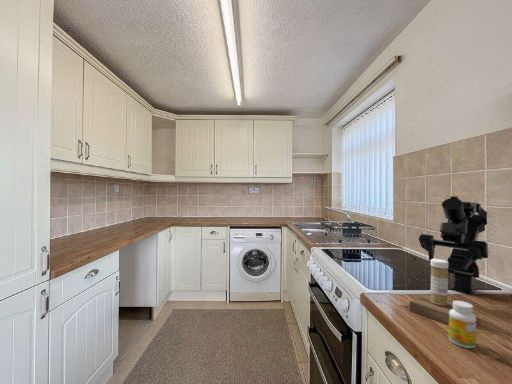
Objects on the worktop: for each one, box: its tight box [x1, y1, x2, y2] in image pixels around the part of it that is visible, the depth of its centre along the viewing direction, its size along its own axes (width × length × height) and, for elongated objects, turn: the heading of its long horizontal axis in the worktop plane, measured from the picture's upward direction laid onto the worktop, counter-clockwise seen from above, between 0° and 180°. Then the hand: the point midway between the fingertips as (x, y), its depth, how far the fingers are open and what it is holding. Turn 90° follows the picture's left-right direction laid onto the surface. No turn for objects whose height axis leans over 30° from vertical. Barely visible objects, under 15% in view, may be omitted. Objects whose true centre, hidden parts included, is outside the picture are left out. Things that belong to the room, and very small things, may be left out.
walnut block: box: [409, 293, 454, 326], centre depth 81 cm, size 12×12×3 cm
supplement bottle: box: [448, 300, 477, 349], centre depth 66 cm, size 5×5×10 cm
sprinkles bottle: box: [430, 258, 449, 306], centre depth 82 cm, size 5×5×14 cm
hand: (446, 265), depth 86 cm, fingers open, 9 cm apart
